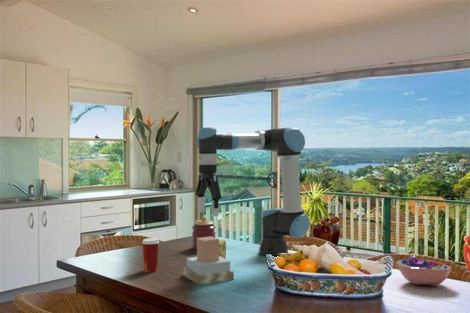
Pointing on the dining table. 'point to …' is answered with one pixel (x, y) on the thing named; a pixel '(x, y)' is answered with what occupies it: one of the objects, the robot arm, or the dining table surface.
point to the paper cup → (150, 254)
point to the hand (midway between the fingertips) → (208, 214)
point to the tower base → (208, 276)
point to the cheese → (222, 248)
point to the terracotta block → (208, 249)
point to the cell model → (423, 271)
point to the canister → (202, 230)
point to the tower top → (208, 266)
